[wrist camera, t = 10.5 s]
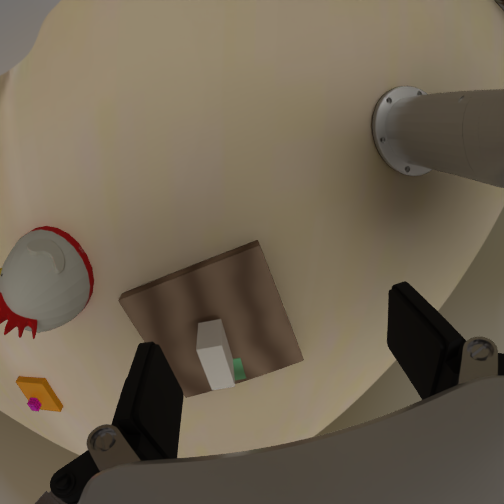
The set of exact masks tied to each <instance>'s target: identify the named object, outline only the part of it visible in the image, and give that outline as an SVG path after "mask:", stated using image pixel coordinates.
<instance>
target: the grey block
mask: <svg viewBox="0 0 504 504" xmlns="http://www.w3.org/2000/svg"><path fill="white" fill-rule="evenodd" d="M196 351H197V353H198V356H199V359H200V361H201V364H202V366H203V369H204V371H205V374H206V376H207V379H208V381H209V384H210V386H211V389H212V390H217V389H223V388H229V387H235V378H234V366H233V358H232V354H231V351H230V348H229V344H228V341H227V338H226V334H225V331H224V327H223V324H222V321H221V319H218V320H212V321H207V322H202V323H198V333H197V345H196Z"/></svg>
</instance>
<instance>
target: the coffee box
mask: <svg viewBox="0 0 504 504" xmlns="http://www.w3.org/2000/svg"><path fill="white" fill-rule="evenodd" d="M495 1H496V2H497V3H498V4H499V5H500V7H501V8H502V9H503V10H504V0H495Z"/></svg>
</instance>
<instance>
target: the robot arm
mask: <svg viewBox="0 0 504 504" xmlns="http://www.w3.org/2000/svg"><path fill="white" fill-rule="evenodd" d="M386 100H387V101H386ZM372 128H373V137H374V141H375V144H376V147H377V149H378V151H379V153H380V155H381V156H382V158H383V159H384V161H385V162H386V163H387V164H388V165H389V166H390V167H391V168H393V169H394V170H396V171H398V172H400V173H402V174H405V175H410V176H419V175H423V174H426V173H428V172H429V171H431V170H432V169H433V170H437V171H441V172H445V173H449V174H453V175H457V176H461V177H464V178H468V179H472V180H475V181H479V182H482V183H485V184H489V185H493V186H496V187H501V188H504V89H496V90H474V91H458V92H446V93H435V94H427V93H426V92H424V91H423V90H421V89H418V88H416V87H412V86H400V87H396V88H393V89H391V90H389V91H388V92H386V93H385V94H384V95H383V96H382V97H381V99H380V100H379V101H378V103H377V105H376V108H375V111H374V115H373V122H372ZM380 139H381V141H380ZM387 344H388V347H389V349H390V351H391V352H392V354H393V355H394V357H395V358H396V360H397V361H398V362H399V364H400V366H401V367H402V369H403V370H404V372H405V373H406V375H407V376H408V378H409V379H410V381H411V383H412V384H413V386H414V387H415V389H416V390H417V392H418V394H419V395H420V397H421V398H422V400H421V401H419V402H417V403H414V404H412V405H409V406H407V407H404V408H402V409H399V410H397V411H394V412H391V413H389V414H386V415H384V416H381V417H378V418H375V419H372V420H369V421H366V422H364V423H360V424H357V425H354V426H351V427H348V428H344V429H341V430H338V431H334V432H331V433H327V434H324V435H320V436H316V437H312V438H308V439H304V440H299V441H295V442H291V443H286V444H281V445H276V446H271V447H266V448H260V449H254V450H248V451H242V452H235V453H228V454H219V455H210V456H200V457H189V458H177V452H178V442H179V432H180V423H181V413H182V405H183V391H182V388H181V386H180V384H179V383H178V381H177V379H176V377H175V375H174V373H173V371H172V369H171V367H170V365H169V363H168V361H167V359H166V357H165V355H164V353H163V351H162V349H161V347H160V345H159V344H155V343H154V342H153V341H151V342H145V343H140V344H139V345H138V348H137V351H136V354H135V357H134V360H133V362H132V365H131V368H130V371H129V374H128V377H127V378H126V380H125V383H124V386H123V389H122V392H121V395H120V399H119V402H118V405H117V408H116V411H115V415H114V418H113V421H112V425H107V424H106V425H101V426H99V427H97V428H95V429H94V430H93V431H92V432H91V433H90V434H89V436H88V439H87V447H88V451H86V452H85V453H83V454H82V455H80V456H79V457H78V458H76V459H74V460H73V461H72V462H70V463H69V464H67V465H66V466H64V467H63V468H61V469H60V470H58V471H57V472H56V473H55V474H54V475H53V477H52V478H51V481H50V488H51V491H50V492H49V493H48V492H47V491H46V492H45V493H44V494H43V495H42V496H41V497H40V498H39V500H38V501H37V502H36V503H35V504H504V354H502V353H498V350H497V346H496V345H495V343H494V342H493V341H491V340H490V339H488V338H485V337H473V338H470V339H469V340H467V341H466V340H465V339H464V338H463V337H462V336H461V335H460V334H459V333H458V332H457V331H456V330H455V329H454V328H453V327H452V325H451V324H449V322H448V321H447V320H446V319H445V318H444V317H443V316H442V315H441V314H440V313H439V312H438V311H437V310H436V309H435V308H434V307H432V306H431V305H430V304H429V303H428V302H427V301H426V300H425V299H424V298H423V297H422V296H421V295H420V294H419V293H418V292H417V291H416V290H415V289H414V288H413V287H412V286H411V285H410V284H409V283H407V282H401V283H398V284H395V285H393V286H392V289H391V290H389V303H388V331H387Z"/></svg>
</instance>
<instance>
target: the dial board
mask: <svg viewBox="0 0 504 504" xmlns="http://www.w3.org/2000/svg"><path fill="white" fill-rule="evenodd" d="M118 301H119V302H120V304H121V306H122V307H123V309H124V310H125V312H126V314H127V315H128V317H129V318H130V320H131V321H132V323H133V325H134V326H135V328H136V329H137V331H138V332H139V334H140V335H141V337H142V338H143V340H144V341H145V342H151V341H153V342H154V343H155V344H159V345H160V347H161V349H162V351H163V353H164V355H165V357H166V359H167V361H168V363H169V365H170V367H171V369H172V371H173V373H174V375H175V377H176V379H177V381H178V383H179V384H180V386H181V388H182V391H183V395H184V396H185V397H186V398H187V397H191V396H194V395H198V394H202V393H205V392H209V391H213V390H212V389H211V386H210V384H209V381H208V379H207V376H206V374H205V371H204V369H203V366H202V364H201V361H200V359H199V356H198V353H197V351H196V345H197V333H198V323H202V322H207V321H212V320H218V319H221V321H222V324H223V327H224V331H225V334H226V338H227V341H228V344H229V348H230V351H231V354H232V358H233V366H234V378H235V384H236V383H240V382H243V381H246V380H249V379H252V378H255V377H258V376H261V375H264V374H267V373H270V372H273V371H276V370H279V369H281V368H284V367H287V366H290V365H292V364H295V363H298V362H300V361H303V360H304V359H303V356H302V354H301V351H300V348H299V346H298V343H297V340H296V338H295V335H294V333H293V330H292V327H291V325H290V322H289V320H288V317H287V314H286V312H285V309H284V307H283V304H282V301H281V299H280V296H279V294H278V291H277V288H276V286H275V283H274V281H273V278H272V275H271V273H270V270H269V268H268V265H267V263H266V260H265V258H264V255H263V252H262V250H261V247H260V245H259V242H258V240H256V241H254V242H251V243H249V244H246V245H243V246H241V247H238V248H236V249H233V250H231V251H228V252H226V253H223V254H220V255H218V256H215V257H213V258H210V259H208V260H205V261H203V262H200V263H198V264H195V265H193V266H190V267H187V268H185V269H182V270H180V271H177V272H175V273H172V274H170V275H167V276H165V277H162V278H160V279H157V280H155V281H152V282H150V283H147V284H145V285H142V286H140V287H137V288H135V289H132V290H130V291H127V292H125V293H122V295H121V297H120V299H119V300H118Z"/></svg>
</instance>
